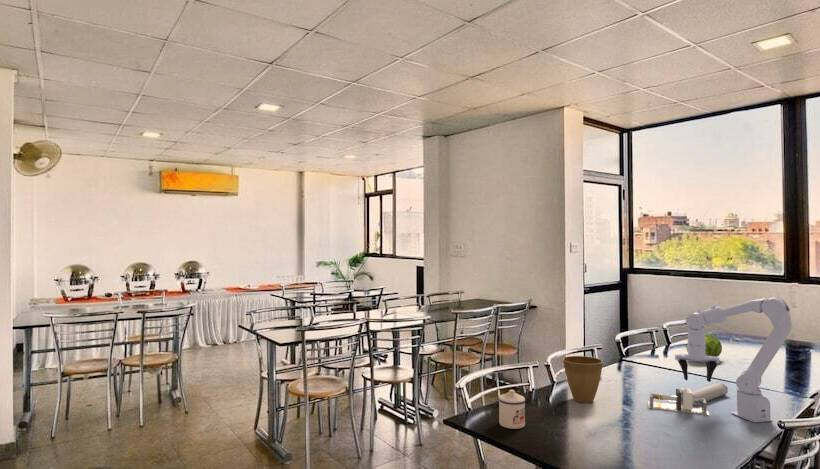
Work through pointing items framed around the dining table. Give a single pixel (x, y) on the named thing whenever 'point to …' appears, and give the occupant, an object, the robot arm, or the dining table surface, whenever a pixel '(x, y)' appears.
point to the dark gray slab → (678, 399)
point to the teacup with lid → (512, 410)
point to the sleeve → (687, 399)
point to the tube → (710, 392)
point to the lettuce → (711, 346)
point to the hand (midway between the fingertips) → (697, 380)
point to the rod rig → (673, 406)
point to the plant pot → (583, 377)
